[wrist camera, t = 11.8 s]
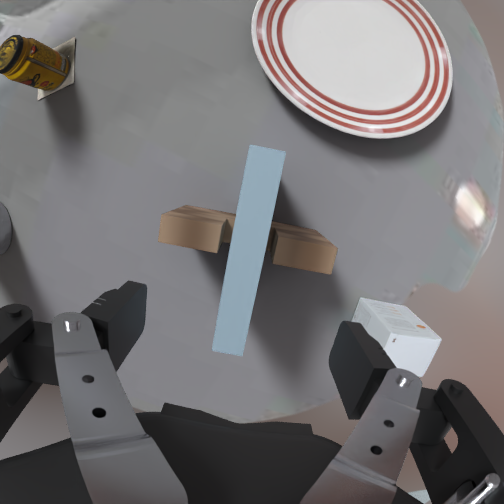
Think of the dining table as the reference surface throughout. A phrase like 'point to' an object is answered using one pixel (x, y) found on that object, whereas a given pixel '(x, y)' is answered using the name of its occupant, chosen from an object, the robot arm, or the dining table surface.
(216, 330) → the light blue square panel
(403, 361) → the small box
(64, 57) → the condiment
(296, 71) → the dinner plate
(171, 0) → the dining table surface
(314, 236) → the walnut block
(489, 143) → the dining table surface
